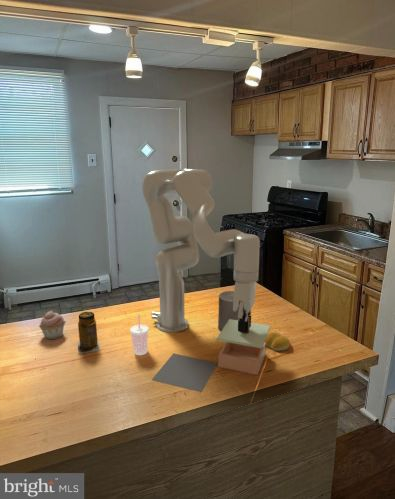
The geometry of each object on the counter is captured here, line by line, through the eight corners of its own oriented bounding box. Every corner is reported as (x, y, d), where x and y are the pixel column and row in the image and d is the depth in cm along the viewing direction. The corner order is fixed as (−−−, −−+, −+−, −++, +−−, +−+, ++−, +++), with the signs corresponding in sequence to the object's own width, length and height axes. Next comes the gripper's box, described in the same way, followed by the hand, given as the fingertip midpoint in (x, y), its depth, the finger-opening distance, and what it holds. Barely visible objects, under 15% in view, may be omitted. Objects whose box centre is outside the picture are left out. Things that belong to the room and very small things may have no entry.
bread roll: (280, 354, 127) (281, 344, 126) (259, 344, 134) (260, 334, 133) (294, 346, 133) (295, 335, 131) (274, 336, 139) (274, 326, 138)
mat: (151, 381, 112) (151, 379, 112) (173, 354, 127) (173, 353, 127) (201, 393, 107) (201, 392, 107) (218, 363, 121) (218, 362, 121)
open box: (218, 368, 119) (218, 354, 118) (229, 348, 130) (229, 335, 129) (257, 376, 115) (258, 362, 113) (265, 355, 126) (266, 342, 125)
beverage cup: (147, 346, 132) (146, 310, 128) (151, 355, 126) (149, 317, 122) (130, 349, 130) (128, 312, 126) (132, 358, 124) (130, 320, 120)
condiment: (98, 339, 137) (95, 309, 133) (100, 350, 129) (98, 319, 126) (77, 342, 134) (74, 312, 131) (78, 354, 127) (75, 322, 123)
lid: (216, 340, 116) (216, 323, 114) (229, 321, 128) (229, 305, 127) (261, 348, 111) (262, 330, 109) (270, 327, 124) (271, 311, 122)
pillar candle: (217, 322, 150) (218, 287, 146) (242, 322, 149) (243, 287, 145) (218, 334, 140) (218, 297, 136) (244, 334, 140) (245, 297, 136)
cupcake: (72, 334, 140) (69, 309, 138) (49, 344, 133) (47, 318, 130) (57, 327, 146) (54, 303, 143) (35, 336, 138) (32, 311, 136)
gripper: (240, 265, 123) (239, 317, 128) (226, 281, 108) (225, 339, 113) (263, 268, 120) (261, 320, 125) (252, 284, 106) (250, 343, 111)
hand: (244, 328), depth 119 cm, fingers closed on lid, 3 cm apart
